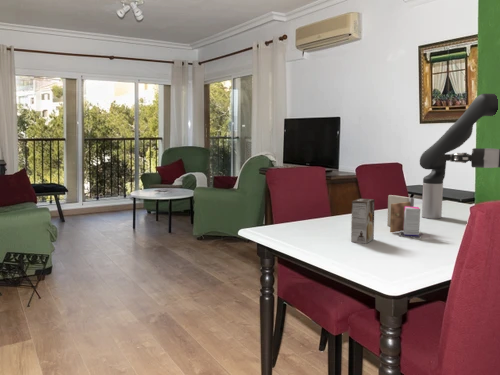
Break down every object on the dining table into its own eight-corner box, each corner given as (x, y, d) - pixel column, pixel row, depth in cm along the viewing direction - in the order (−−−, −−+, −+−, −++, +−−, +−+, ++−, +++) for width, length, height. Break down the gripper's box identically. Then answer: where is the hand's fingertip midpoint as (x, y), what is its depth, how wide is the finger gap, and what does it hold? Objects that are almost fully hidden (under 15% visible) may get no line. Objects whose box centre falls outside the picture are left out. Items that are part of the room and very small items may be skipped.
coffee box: (358, 237, 184) (359, 198, 182) (374, 239, 180) (375, 199, 179) (350, 241, 176) (351, 200, 174) (366, 244, 173) (367, 202, 171)
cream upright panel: (390, 225, 208) (391, 195, 206) (413, 230, 197) (414, 198, 196) (387, 225, 207) (388, 195, 205) (410, 230, 196) (411, 198, 195)
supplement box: (419, 236, 184) (420, 208, 182) (404, 236, 185) (405, 208, 184) (417, 233, 189) (418, 206, 188) (402, 233, 191) (403, 206, 189)
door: (407, 229, 197) (408, 201, 196) (411, 230, 195) (412, 202, 194) (390, 232, 191) (390, 203, 190) (394, 233, 189) (395, 204, 188)
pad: (401, 232, 192) (401, 232, 192) (422, 234, 189) (422, 233, 189) (398, 236, 185) (398, 235, 185) (419, 238, 182) (419, 237, 182)
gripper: (485, 147, 183) (442, 147, 190) (485, 148, 170) (439, 148, 178) (484, 166, 184) (441, 165, 191) (484, 168, 171) (438, 167, 179)
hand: (440, 157), depth 184 cm, fingers open, 8 cm apart
